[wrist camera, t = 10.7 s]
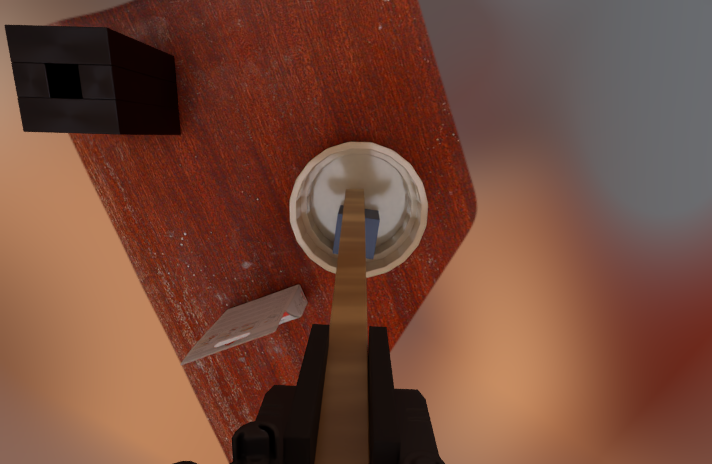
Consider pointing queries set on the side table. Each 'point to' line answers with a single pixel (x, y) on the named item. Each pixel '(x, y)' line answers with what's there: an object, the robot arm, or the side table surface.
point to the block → (370, 231)
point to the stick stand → (92, 82)
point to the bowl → (381, 192)
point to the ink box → (250, 322)
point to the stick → (347, 349)
